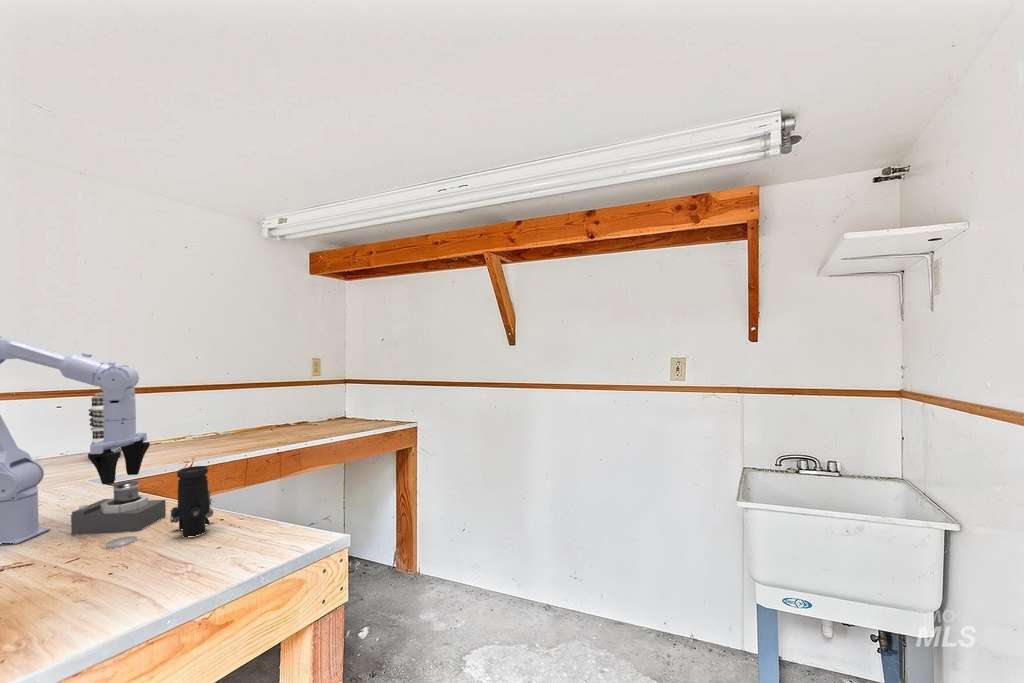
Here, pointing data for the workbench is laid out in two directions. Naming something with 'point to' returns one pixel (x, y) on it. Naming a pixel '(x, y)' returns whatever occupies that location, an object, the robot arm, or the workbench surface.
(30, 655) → the workbench surface
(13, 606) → the workbench surface
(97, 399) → the decorative candle
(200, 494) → the scope
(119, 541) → the grey domed disc
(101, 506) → the camera body
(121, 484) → the lens
